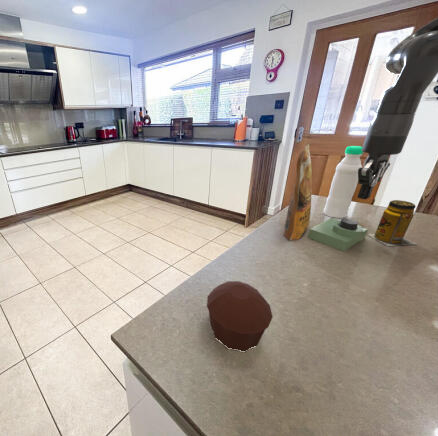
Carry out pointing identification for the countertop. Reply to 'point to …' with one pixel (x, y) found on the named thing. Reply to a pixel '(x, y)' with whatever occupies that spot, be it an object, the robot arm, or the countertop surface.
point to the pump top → (348, 224)
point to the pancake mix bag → (300, 198)
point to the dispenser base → (336, 234)
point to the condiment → (395, 223)
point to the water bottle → (344, 183)
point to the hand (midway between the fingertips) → (363, 198)
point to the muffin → (238, 314)
